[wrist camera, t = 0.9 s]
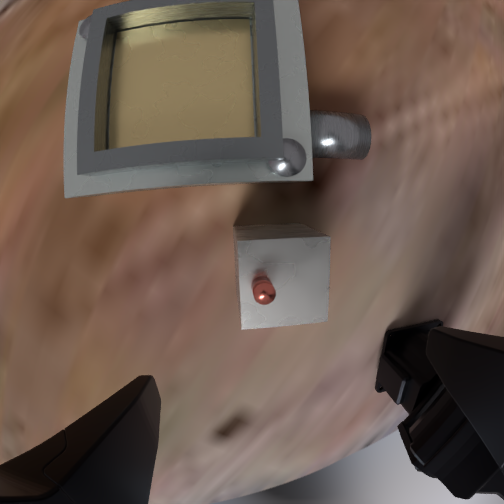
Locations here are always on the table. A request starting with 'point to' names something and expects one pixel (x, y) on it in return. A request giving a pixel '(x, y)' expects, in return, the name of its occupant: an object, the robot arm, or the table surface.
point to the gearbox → (195, 99)
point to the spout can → (281, 274)
